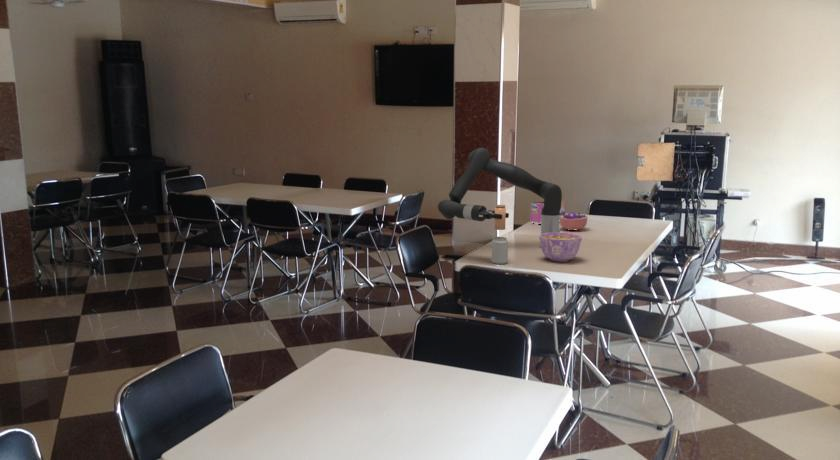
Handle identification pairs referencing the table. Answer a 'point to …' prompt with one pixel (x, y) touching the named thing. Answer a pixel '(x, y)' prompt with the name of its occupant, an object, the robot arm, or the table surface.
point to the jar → (500, 222)
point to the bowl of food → (560, 245)
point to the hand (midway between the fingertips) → (504, 216)
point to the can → (499, 250)
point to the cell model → (573, 221)
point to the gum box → (537, 208)
